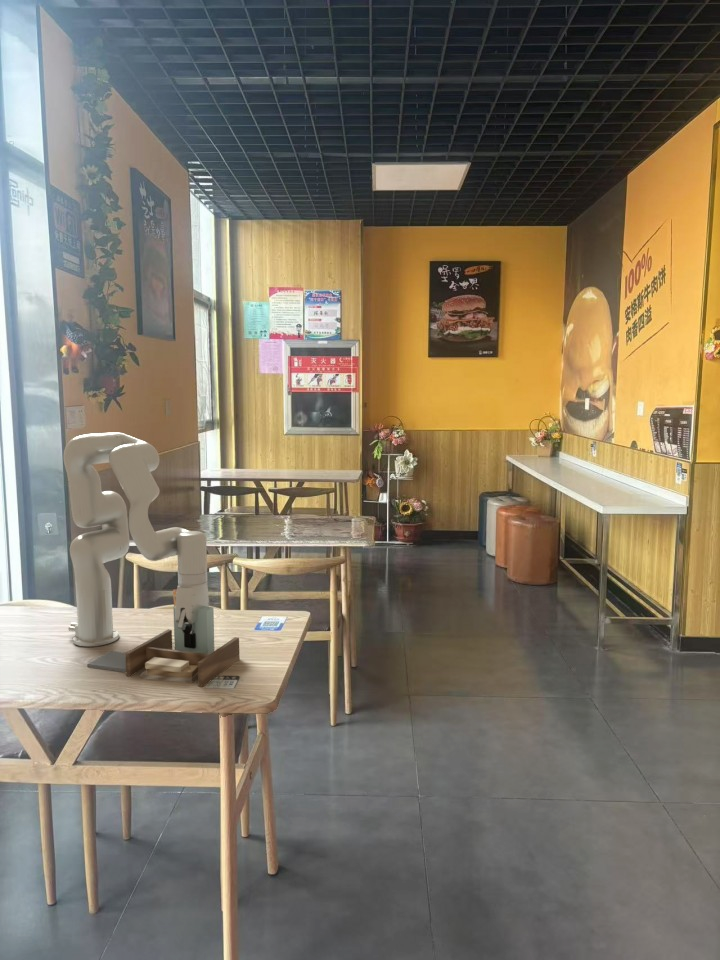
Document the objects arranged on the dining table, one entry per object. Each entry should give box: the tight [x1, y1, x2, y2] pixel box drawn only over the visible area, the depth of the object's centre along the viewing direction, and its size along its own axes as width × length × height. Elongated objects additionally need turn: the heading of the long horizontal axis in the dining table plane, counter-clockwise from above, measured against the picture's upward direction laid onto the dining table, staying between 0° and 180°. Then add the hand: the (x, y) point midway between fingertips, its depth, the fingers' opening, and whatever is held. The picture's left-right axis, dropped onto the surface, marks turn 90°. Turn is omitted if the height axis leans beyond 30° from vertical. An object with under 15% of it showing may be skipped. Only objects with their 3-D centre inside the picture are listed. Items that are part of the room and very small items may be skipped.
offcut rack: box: [125, 629, 241, 688], centre depth 187 cm, size 22×19×6 cm
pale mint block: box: [173, 606, 215, 654], centre depth 192 cm, size 10×4×14 cm, turn 72°
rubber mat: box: [86, 650, 126, 673], centre depth 191 cm, size 13×10×1 cm
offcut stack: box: [140, 657, 198, 684], centre depth 181 cm, size 14×5×4 cm, turn 77°
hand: (194, 644), depth 192 cm, fingers closed on pale mint block, 3 cm apart
